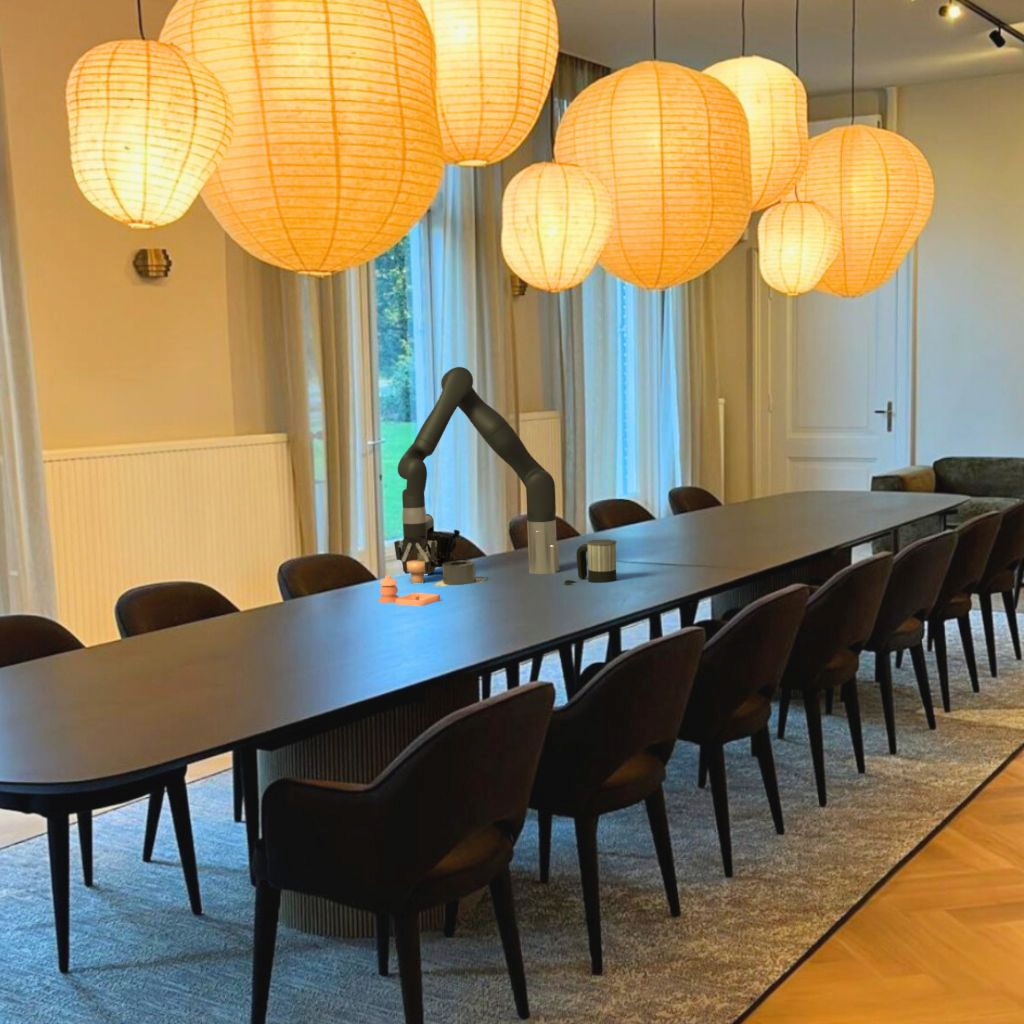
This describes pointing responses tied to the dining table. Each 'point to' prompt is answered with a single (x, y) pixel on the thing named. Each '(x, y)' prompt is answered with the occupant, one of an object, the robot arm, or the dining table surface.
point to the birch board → (449, 585)
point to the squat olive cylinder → (459, 572)
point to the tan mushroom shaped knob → (416, 570)
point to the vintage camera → (440, 545)
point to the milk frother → (597, 561)
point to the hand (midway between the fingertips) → (417, 573)
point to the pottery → (413, 599)
